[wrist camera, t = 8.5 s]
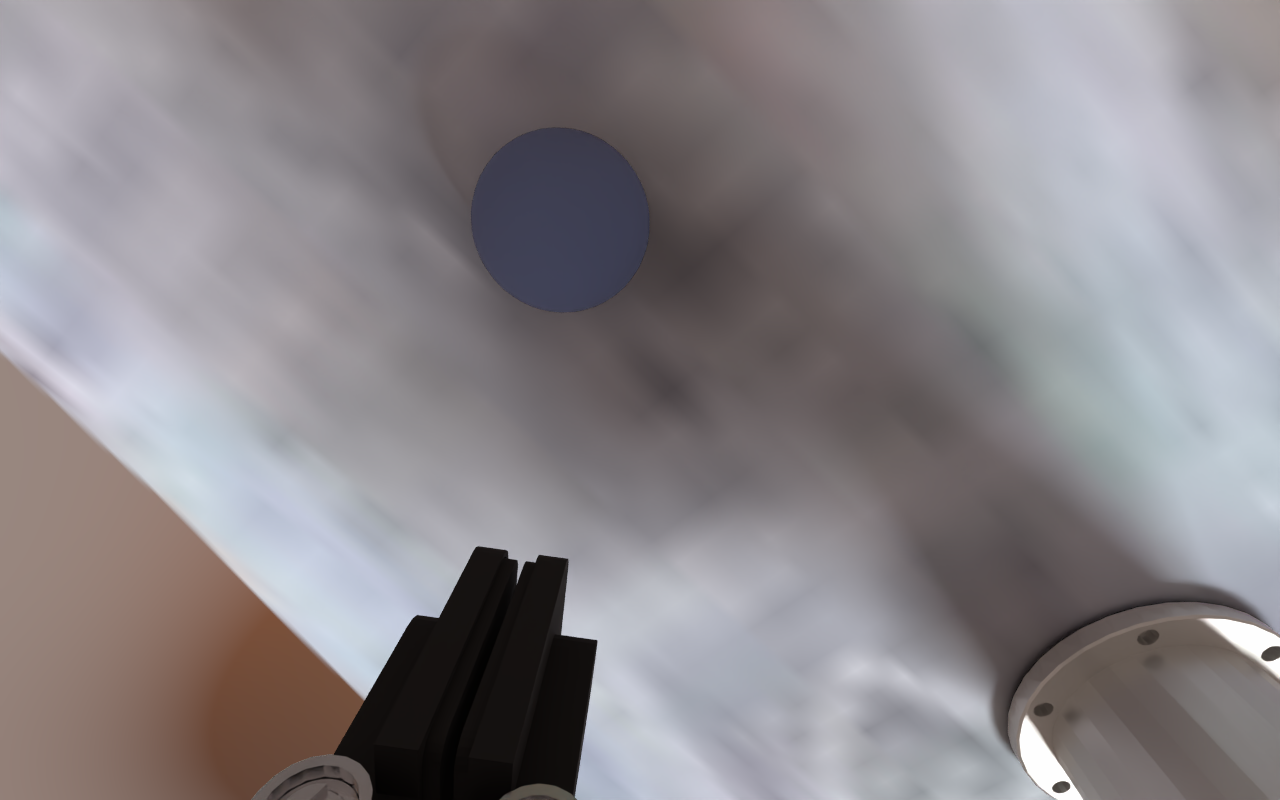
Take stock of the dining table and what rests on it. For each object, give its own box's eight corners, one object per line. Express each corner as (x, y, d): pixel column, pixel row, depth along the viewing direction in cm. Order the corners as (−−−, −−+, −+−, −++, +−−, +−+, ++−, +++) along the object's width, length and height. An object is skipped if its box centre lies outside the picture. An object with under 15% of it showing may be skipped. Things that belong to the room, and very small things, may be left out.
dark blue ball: (634, 347, 17) (666, 274, 22) (618, 146, 14) (660, 109, 19) (462, 339, 19) (526, 272, 23) (414, 152, 16) (498, 116, 20)
